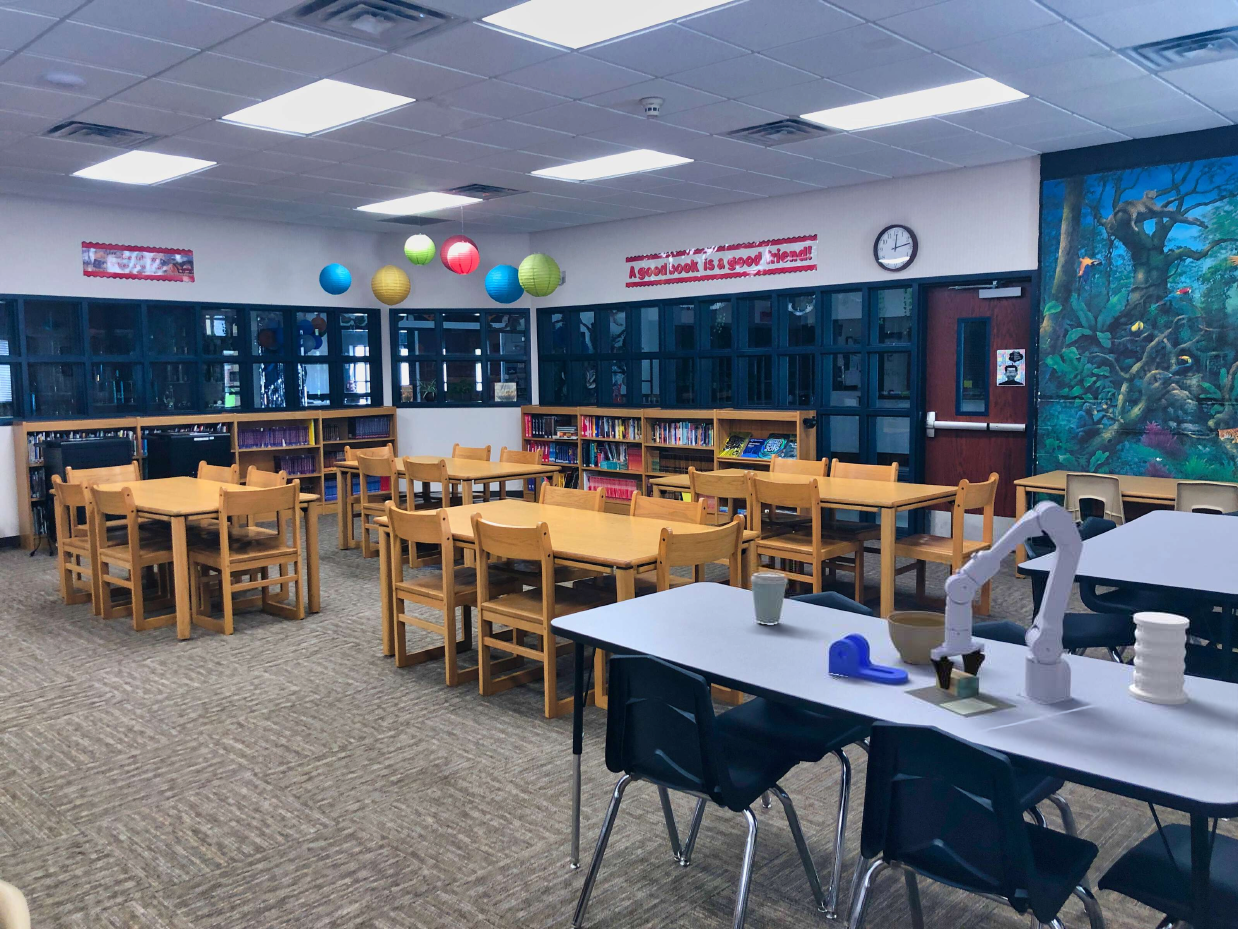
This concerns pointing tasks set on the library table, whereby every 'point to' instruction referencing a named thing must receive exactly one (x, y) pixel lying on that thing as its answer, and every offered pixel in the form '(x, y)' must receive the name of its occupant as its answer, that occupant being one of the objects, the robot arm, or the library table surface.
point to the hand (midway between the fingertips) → (957, 686)
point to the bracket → (861, 662)
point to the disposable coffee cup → (768, 596)
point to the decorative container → (1159, 658)
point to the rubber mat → (960, 701)
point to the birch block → (961, 684)
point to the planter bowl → (916, 634)
